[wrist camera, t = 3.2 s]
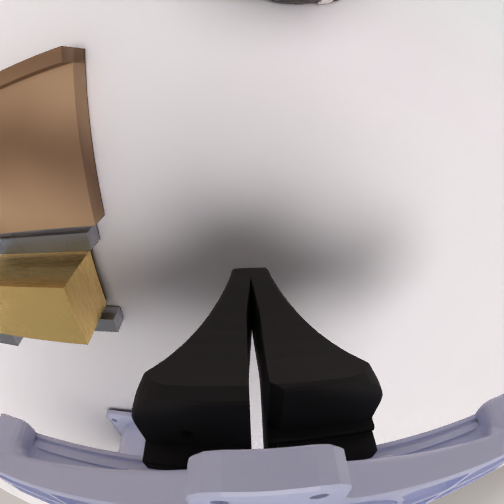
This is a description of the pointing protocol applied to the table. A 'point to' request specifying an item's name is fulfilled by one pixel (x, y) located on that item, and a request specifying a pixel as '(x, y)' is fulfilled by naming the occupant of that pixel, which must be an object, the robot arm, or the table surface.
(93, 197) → the brown flat slab
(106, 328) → the socket
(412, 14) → the table surface
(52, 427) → the table surface
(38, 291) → the block
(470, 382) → the table surface
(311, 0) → the battery charger
